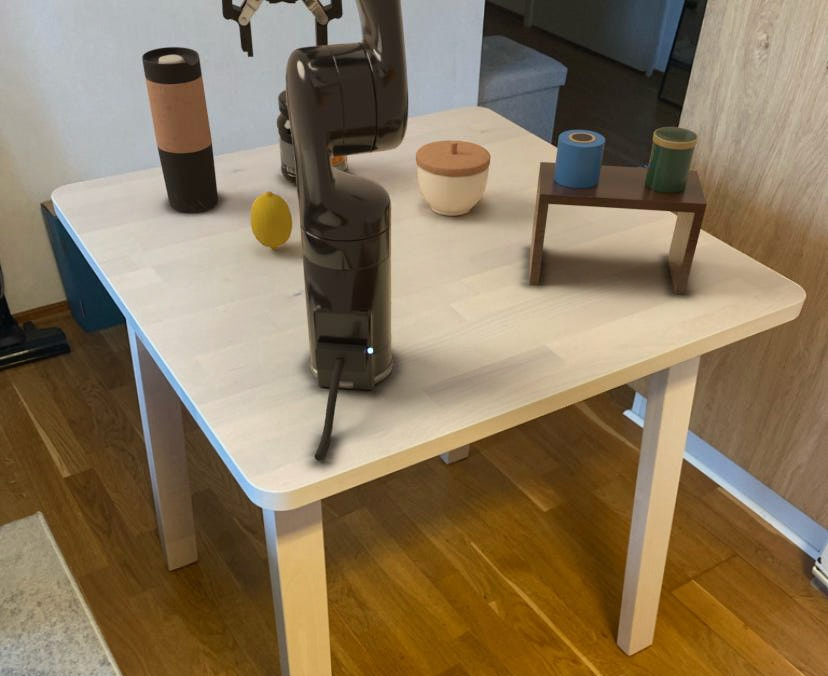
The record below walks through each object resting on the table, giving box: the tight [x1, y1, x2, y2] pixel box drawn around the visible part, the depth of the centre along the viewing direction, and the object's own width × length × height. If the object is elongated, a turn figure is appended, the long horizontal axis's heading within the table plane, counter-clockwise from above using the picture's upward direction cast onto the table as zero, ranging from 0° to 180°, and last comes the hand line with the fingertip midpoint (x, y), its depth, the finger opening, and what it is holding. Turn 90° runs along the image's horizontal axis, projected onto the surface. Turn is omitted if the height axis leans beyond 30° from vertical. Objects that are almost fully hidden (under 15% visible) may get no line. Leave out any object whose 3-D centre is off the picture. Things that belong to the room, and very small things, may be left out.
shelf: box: [528, 161, 708, 296], centre depth 115 cm, size 10×20×12 cm, turn 84°
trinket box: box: [415, 139, 492, 217], centre depth 130 cm, size 11×11×9 cm
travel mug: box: [141, 46, 219, 214], centre depth 126 cm, size 8×8×20 cm
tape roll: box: [554, 129, 606, 189], centre depth 110 cm, size 6×6×5 cm
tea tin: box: [645, 126, 699, 193], centre depth 109 cm, size 5×5×6 cm
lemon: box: [250, 191, 293, 251], centre depth 120 cm, size 6×6×8 cm
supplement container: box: [276, 89, 349, 186], centre depth 136 cm, size 10×10×12 cm
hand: (285, 54), depth 111 cm, fingers open, 8 cm apart
